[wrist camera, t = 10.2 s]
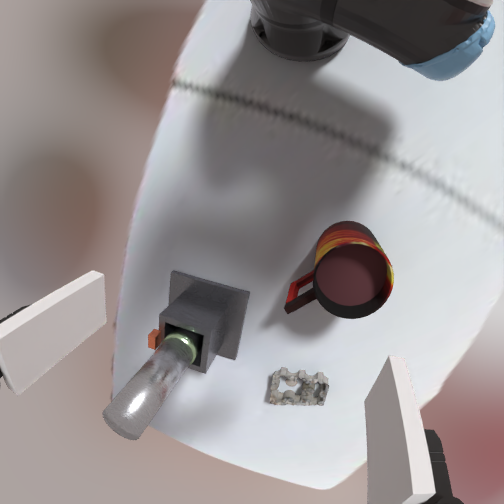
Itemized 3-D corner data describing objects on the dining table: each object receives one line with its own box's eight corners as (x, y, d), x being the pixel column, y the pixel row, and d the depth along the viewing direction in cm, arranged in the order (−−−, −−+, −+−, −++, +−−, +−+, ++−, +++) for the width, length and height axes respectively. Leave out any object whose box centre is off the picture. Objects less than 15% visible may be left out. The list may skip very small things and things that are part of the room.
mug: (290, 282, 48) (279, 318, 37) (337, 208, 43) (341, 224, 32) (340, 312, 48) (342, 354, 37) (389, 242, 43) (409, 269, 32)
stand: (173, 270, 53) (137, 298, 41) (249, 292, 50) (228, 328, 39) (169, 334, 57) (138, 369, 46) (236, 356, 55) (216, 398, 44)
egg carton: (270, 390, 56) (266, 403, 52) (276, 362, 54) (271, 375, 50) (323, 399, 54) (321, 413, 50) (332, 371, 52) (331, 386, 48)
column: (172, 319, 46) (97, 400, 27) (205, 330, 45) (139, 421, 26) (171, 348, 48) (105, 429, 29) (201, 359, 47) (143, 449, 28)
